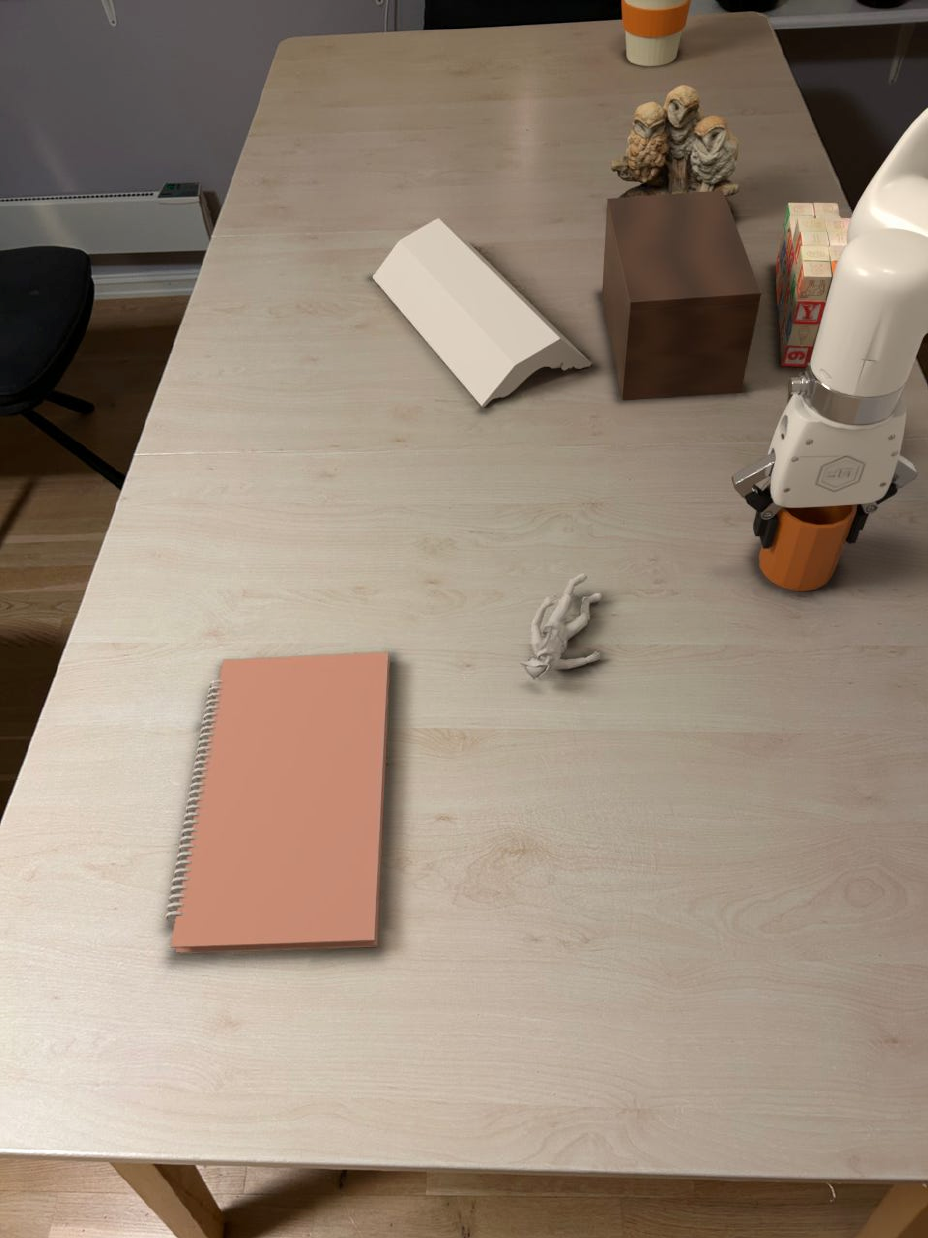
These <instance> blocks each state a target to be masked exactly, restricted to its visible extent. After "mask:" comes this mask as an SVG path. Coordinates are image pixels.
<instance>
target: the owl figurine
mask: <svg viewBox="0 0 928 1238" xmlns="http://www.w3.org/2000/svg"><path fill="white" fill-rule="evenodd" d="M700 103H701V99H700V96H699V94H698V92H697V90H696V89H695V88H693V87H691V86H689V85H686V84H682V85H678V86H676V87H675V88H674V89H672V90H670V91H669V92H668V93H667V95H666V97H665V101H664V105H661V104H659V103H657V102H655V101H649V102H644V103H643V104H640V105H639V106H637V107H636V109H635V112H634V115H633V121H632V123H631V127H632V129H631V130H630V135H629V136H628V137H627V139H626V143H627V145H628V146H627V148H626V150H625V152H626V154H625V155H623V156H621V157H618V159H612V160H610V161H611V167H610V170H611V171H612V172H613V173H615V172H616V173H617V177H618V178H620V179H621V180H622V181H625V182H635V183H636V182H637V183H640V184H638V185H636V186H633V187H631V188H629V189H628V190H626V191H625V192H623V193H622V194H621V195H619V197H618V198H623V197H637V196H651V195H665V194H678V193H692V192H706V191H719V190H723V192H724V195H725V197H726V200H727V203H728V205H729V208H730V211H731V213H732V216H733V217H735V208H734V205H733V204H732V202H731V201H730V200H728V198H727V197H730V196H731V197H732V196H734V195H736V194H737V193H739V191H740V185H739V184H738V183H736V182H734V181H732V180H730V177H732V175H733V173H734V172H735V171H736V168H737V165H738V164H737V160H738V156H739V149H738V148H739V146H740V141H739V139H738V138H736V137H735V135H733V134H732V133H731V129H730V127H728V123H727V120H725V118H723V117H722V116H719V115H709V116H706V117H705V115H704V112H703V108H702V106H701V104H700Z"/></svg>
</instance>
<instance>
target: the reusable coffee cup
mask: <svg viewBox="0 0 928 1238" xmlns="http://www.w3.org/2000/svg"><path fill="white" fill-rule="evenodd" d="M691 2H692V0H621V19H622V28H623V30H624V31H625V50H626V59H627V60H628V61H629V62H630V63H632V64H634V65H638V66H643V67H659V66H665V65H667V64H669V63H672V62H673V61H674V60H676V58H677V55H678V50H679V47H680V42H681V37H682V33H683V30H684V29H685V27H686V25H687V22H688V21H687V20H688V16H689V11H690V7H691Z"/></svg>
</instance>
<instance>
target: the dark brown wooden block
mask: <svg viewBox="0 0 928 1238" xmlns="http://www.w3.org/2000/svg"><path fill="white" fill-rule="evenodd" d="M726 198H727V196H726V197H725V195H724V192H723V190H719V191H706V192H692V193H678V194H665V195H651V196H637V197H623V198H619V197H610V198H607V201H606V202H607V203H606V217H605V232H604V233H605V236H604V251H603V252H604V253H603V269H602V270H603V271H602V285H601V286H602V288H601V296H602V302H603V307H604V312H605V317H606V322H607V327H608V333H609V338H610V343H611V348H612V354H613V359H614V364H615V369H616V374H617V380H618V385H619V390H620V397H621V400H622V401H627V400H629V401H630V400H643V399H656V398H657V399H658V398H659V399H660V398H673V397H674V398H675V397H688V396H689V397H690V396H704V395H705V396H706V395H721V394H722V395H723V394H734V393H735V394H736V393H737V394H738V393H742V391H743V386H744V380H745V376H746V371H747V366H748V362H749V357H750V351H751V347H752V343H753V337H754V332H755V329H756V323H757V318H758V313H759V307H760V302H761V299H762V294H763V293H762V289H761V287H760V285H759V282H758V280H757V276H756V275H755V272H754V269H753V266H752V264H751V261H750V258H749V255H748V253H747V251H746V248H745V245H744V242H743V240H742V237H741V235H740V232H739V230H738V227H737V224H736V221H735V219H734V216H732V213H731V211H730V208H729V205H728V203H727V200H728V199H727V200H726Z"/></svg>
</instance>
